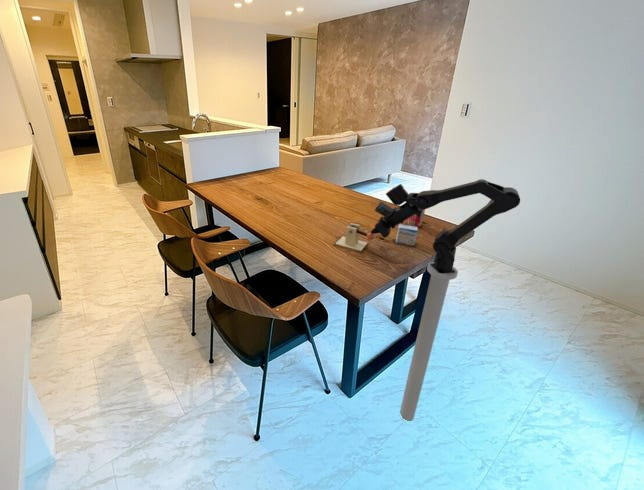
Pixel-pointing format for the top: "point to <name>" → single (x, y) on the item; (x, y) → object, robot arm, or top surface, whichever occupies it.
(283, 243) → the top surface
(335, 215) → the top surface
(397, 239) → the medicine box
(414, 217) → the soda can
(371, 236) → the switch lever
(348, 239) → the switch bracket
